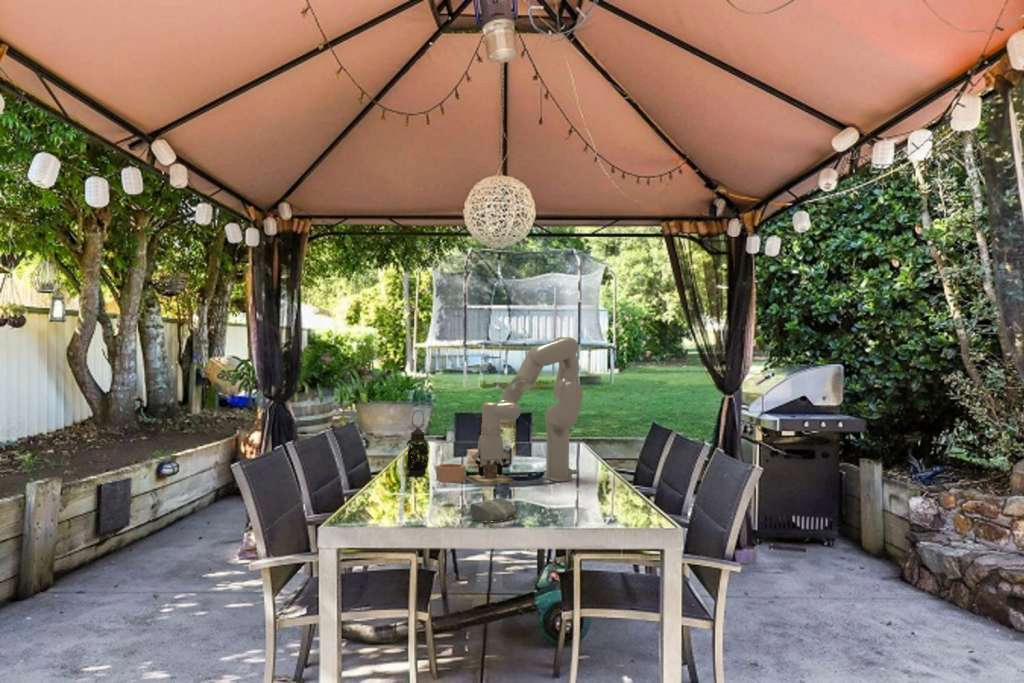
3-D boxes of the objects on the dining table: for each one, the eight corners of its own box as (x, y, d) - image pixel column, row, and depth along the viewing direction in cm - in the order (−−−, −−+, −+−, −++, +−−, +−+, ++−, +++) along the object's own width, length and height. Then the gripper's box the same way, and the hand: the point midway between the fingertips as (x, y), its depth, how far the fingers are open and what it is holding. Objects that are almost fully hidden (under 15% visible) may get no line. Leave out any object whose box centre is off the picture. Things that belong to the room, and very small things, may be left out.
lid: (499, 475, 306) (499, 461, 306) (513, 481, 293) (513, 466, 293) (468, 478, 300) (468, 463, 300) (481, 483, 287) (481, 468, 287)
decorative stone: (496, 513, 241) (497, 495, 241) (520, 518, 235) (520, 500, 235) (469, 520, 231) (470, 501, 231) (493, 525, 225) (493, 506, 225)
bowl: (458, 478, 303) (459, 463, 303) (468, 483, 293) (468, 467, 293) (433, 480, 298) (434, 464, 298) (442, 485, 288) (442, 468, 288)
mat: (501, 477, 308) (501, 474, 308) (519, 484, 292) (519, 482, 292) (462, 479, 301) (462, 477, 301) (478, 487, 285) (478, 485, 285)
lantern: (417, 472, 317) (418, 408, 317) (432, 475, 312) (433, 410, 312) (401, 475, 309) (402, 410, 309) (417, 478, 304) (418, 411, 304)
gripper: (506, 430, 304) (506, 472, 304) (467, 432, 296) (467, 475, 296) (514, 432, 297) (513, 475, 297) (474, 434, 290) (474, 478, 289)
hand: (490, 475), depth 297 cm, fingers open, 7 cm apart
